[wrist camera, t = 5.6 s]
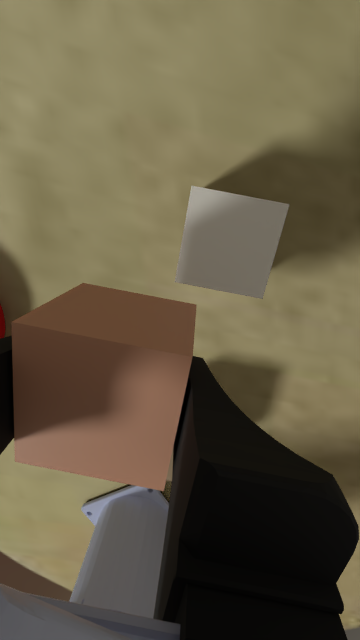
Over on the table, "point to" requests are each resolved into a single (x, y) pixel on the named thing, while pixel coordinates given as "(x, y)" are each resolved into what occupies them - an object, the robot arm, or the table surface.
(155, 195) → the table surface
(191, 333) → the terracotta cube
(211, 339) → the table surface
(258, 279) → the cream cube
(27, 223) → the table surface
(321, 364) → the table surface
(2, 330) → the decorative ornament
